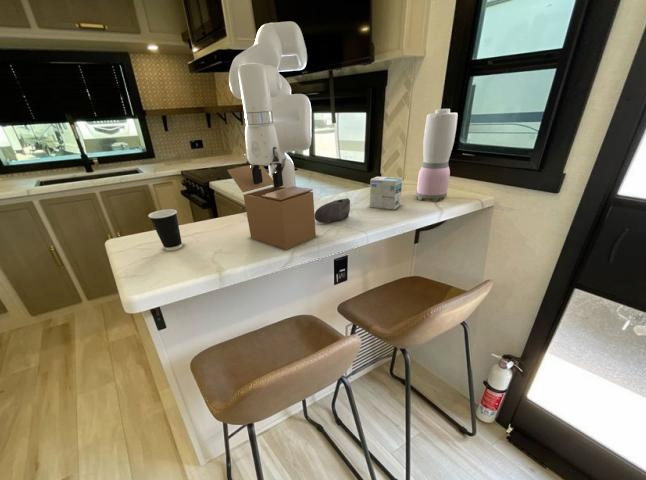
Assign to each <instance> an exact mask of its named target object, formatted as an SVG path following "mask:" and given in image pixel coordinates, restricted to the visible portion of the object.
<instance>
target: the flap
mask: <svg viewBox="0 0 646 480" xmlns="http://www.w3.org/2000/svg"><path fill="white" fill-rule="evenodd" d="M259 169H261V172H262V179H263V182H262V183H258V184H254V182H253V175H252V170H251V169H250V166H249V165H244V166H240V167H235V168H230V169H227V172H228V174H229V175H230V177H231V178H232V180H233V181H234V182H235V184H236V185H237V187H238V188H239V189H240V191H241V193H246V192H247V193H248V192H250V191H253V190H259V189H263V188H266V187H269V186H270V187H271V185H273V184H274V183H273V180H272V178H271V177H270V174H269V172H268V171H267V170H266V168H265V166H261V165H260V168H259Z"/></svg>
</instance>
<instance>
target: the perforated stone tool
mask: <svg viewBox="0 0 646 480" xmlns="http://www.w3.org/2000/svg"><path fill="white" fill-rule="evenodd" d="M350 212H351V199H349V198H348V197H346V198H340V199H337V200H333V201H330V202H327V203H325V204H323V205H321V206H319V207H318V208H317V209H316V210H315V211H314V216H315V222H318V223H321V224H326V223H332V222H338V221H339V222H340V221H341V220H344V219H347V218H349V215H350Z"/></svg>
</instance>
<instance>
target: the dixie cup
mask: <svg viewBox="0 0 646 480" xmlns="http://www.w3.org/2000/svg"><path fill="white" fill-rule="evenodd" d="M177 213H178V211H177V210H176V209H171V208H168V209H160V210H156V211H153V212H150V213H149V214H148V215H147V217H148V218H149V219H150V221H151V223H152V225H153V228H154V229H155V231H156V233H157V236H158V237H159V240H160V243H161V244H162V246H163V248H164V249H165V250H166V251H176V250H179V249H181V248H182V246H183V245H182V243H183V242H182V237H181V233H180V232H181V231H180V225H179V220H178V214H177Z"/></svg>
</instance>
